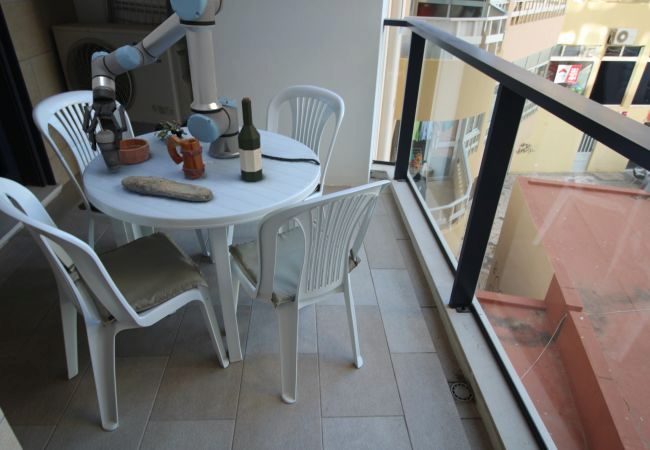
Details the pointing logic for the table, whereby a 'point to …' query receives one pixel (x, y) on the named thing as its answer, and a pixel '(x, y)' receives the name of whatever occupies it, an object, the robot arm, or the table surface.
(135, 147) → the bowl
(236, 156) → the robot arm
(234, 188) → the table surface
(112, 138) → the beverage cup
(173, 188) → the long grey stone
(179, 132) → the passion flower
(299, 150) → the table surface
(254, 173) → the wine bottle
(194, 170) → the mug
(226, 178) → the table surface
